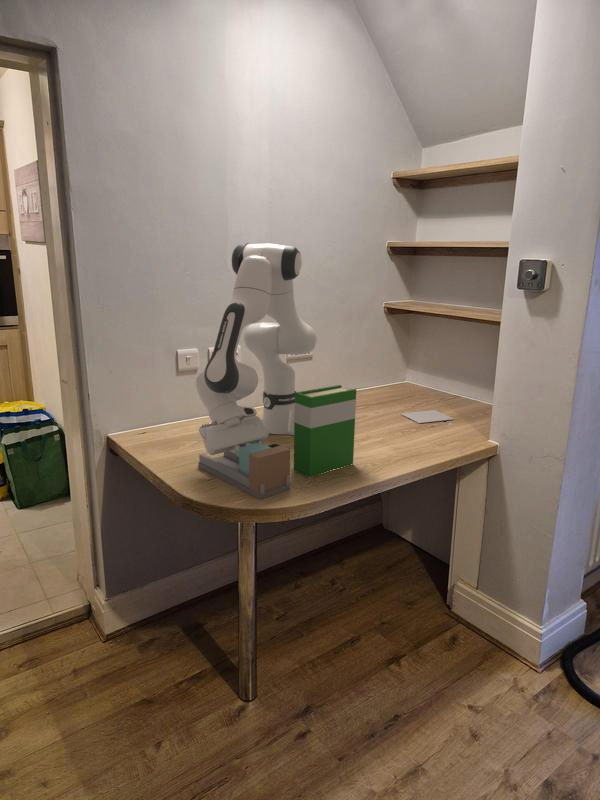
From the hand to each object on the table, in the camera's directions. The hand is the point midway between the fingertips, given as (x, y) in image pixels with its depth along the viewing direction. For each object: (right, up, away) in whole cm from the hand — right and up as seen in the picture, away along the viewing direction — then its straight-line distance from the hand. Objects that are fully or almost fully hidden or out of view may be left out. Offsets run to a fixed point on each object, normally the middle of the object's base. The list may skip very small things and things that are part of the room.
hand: (247, 459), depth 163 cm
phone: (+4, -1, +23) cm, 24 cm away
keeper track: (-2, -5, +3) cm, 7 cm away
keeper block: (+3, -5, -2) cm, 6 cm away
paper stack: (+64, +8, +62) cm, 89 cm away
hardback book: (+22, -4, +13) cm, 26 cm away
